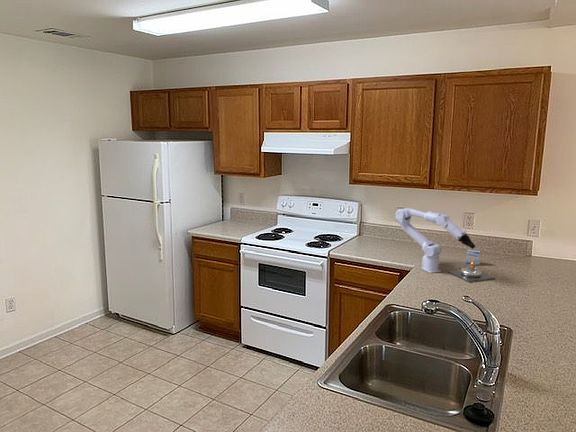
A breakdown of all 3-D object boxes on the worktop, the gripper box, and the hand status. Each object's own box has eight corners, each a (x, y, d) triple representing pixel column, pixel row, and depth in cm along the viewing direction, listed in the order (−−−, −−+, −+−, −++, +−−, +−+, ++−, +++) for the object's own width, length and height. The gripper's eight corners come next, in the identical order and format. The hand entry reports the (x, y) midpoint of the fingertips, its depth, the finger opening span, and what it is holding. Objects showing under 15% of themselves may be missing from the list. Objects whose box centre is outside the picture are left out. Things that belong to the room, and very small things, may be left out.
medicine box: (465, 263, 279) (466, 250, 277) (466, 262, 282) (467, 249, 281) (479, 265, 275) (480, 252, 273) (479, 263, 279) (481, 250, 277)
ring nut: (480, 278, 248) (481, 270, 247) (460, 275, 253) (460, 267, 252) (482, 269, 263) (483, 262, 263) (462, 266, 268) (463, 259, 267)
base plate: (447, 272, 261) (447, 270, 261) (472, 269, 267) (472, 268, 266) (469, 282, 244) (469, 280, 244) (495, 279, 250) (495, 277, 250)
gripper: (457, 223, 244) (477, 239, 237) (461, 227, 256) (480, 243, 250) (448, 232, 245) (467, 249, 239) (452, 236, 258) (471, 252, 251)
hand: (473, 246), depth 244 cm, fingers open, 7 cm apart
